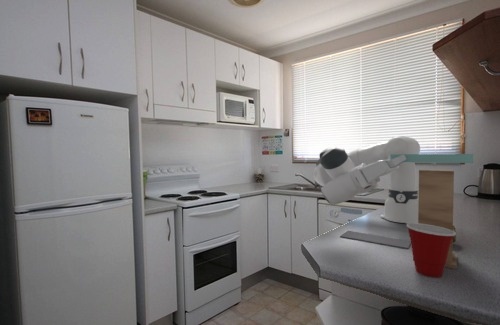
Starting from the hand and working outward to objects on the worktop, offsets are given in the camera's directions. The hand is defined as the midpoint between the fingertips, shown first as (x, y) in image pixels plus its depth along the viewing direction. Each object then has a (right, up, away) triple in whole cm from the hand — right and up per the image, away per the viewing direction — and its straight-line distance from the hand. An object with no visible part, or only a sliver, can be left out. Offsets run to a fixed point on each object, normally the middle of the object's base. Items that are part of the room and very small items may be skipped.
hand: (406, 156), depth 84 cm
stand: (+6, -30, -4) cm, 31 cm away
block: (+5, -2, -3) cm, 6 cm away
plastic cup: (-2, -31, -13) cm, 33 cm away
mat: (-3, -30, +14) cm, 33 cm away
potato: (+19, -30, +12) cm, 37 cm away
